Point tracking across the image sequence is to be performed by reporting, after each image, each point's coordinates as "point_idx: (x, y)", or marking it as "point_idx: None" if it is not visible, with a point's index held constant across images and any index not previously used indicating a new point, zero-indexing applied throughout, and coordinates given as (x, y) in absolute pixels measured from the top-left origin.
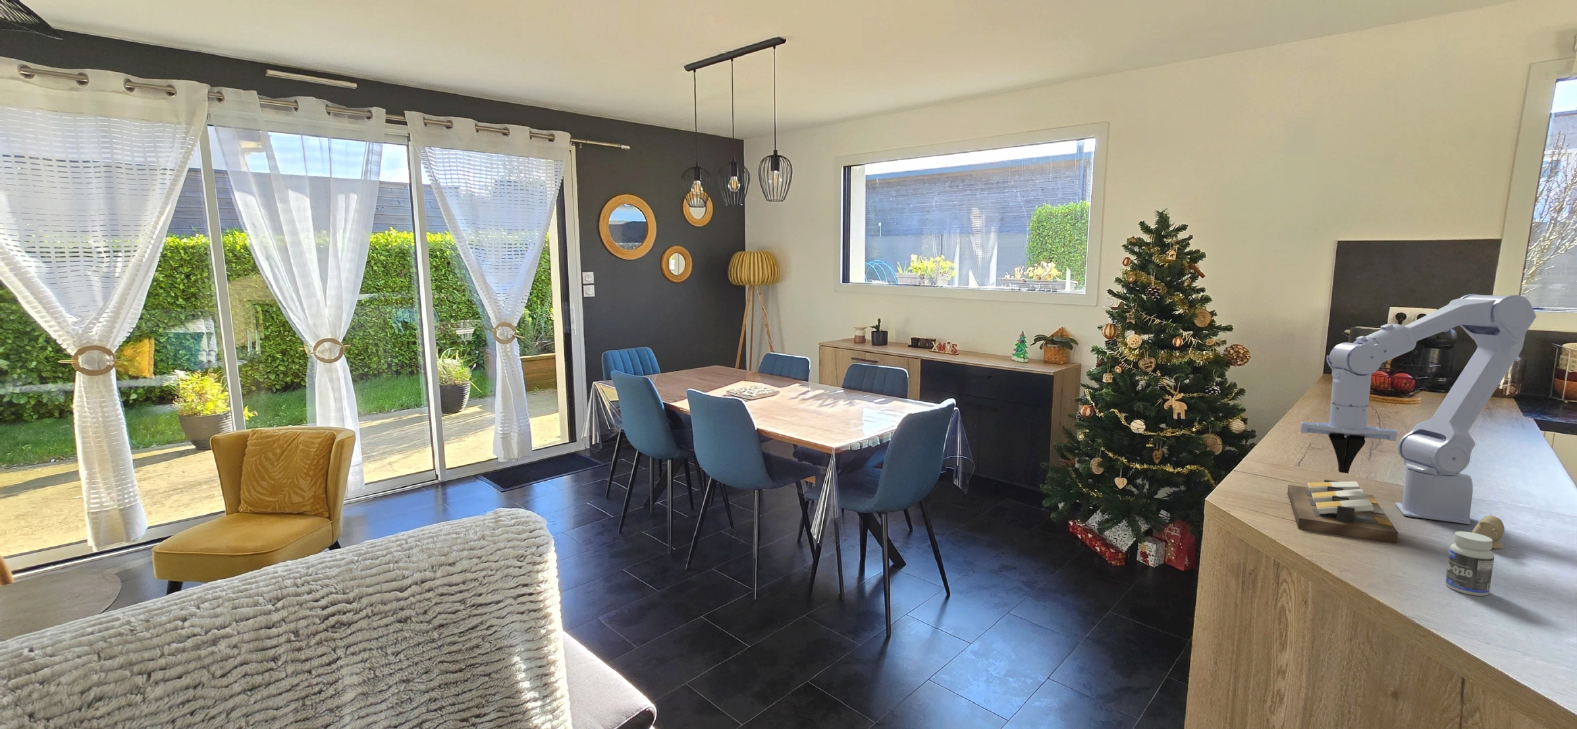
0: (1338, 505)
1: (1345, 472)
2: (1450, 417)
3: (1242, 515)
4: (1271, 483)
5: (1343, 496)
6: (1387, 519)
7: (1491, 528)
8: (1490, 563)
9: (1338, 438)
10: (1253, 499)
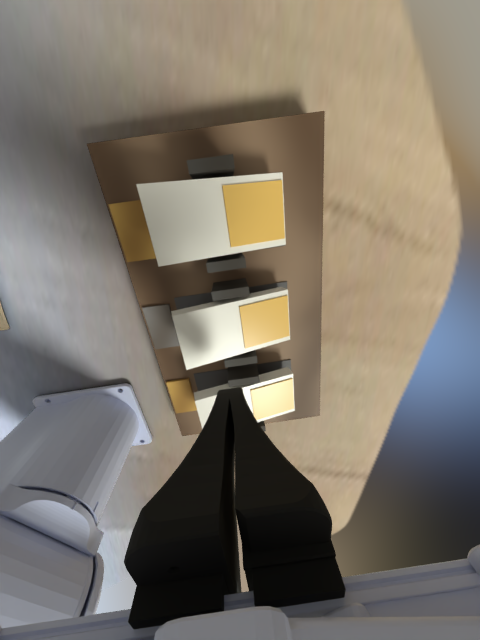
0: (232, 191)
1: (225, 390)
2: None
3: (428, 162)
4: (332, 444)
5: (223, 303)
6: (128, 258)
7: None
8: None
9: (283, 543)
10: (378, 325)
